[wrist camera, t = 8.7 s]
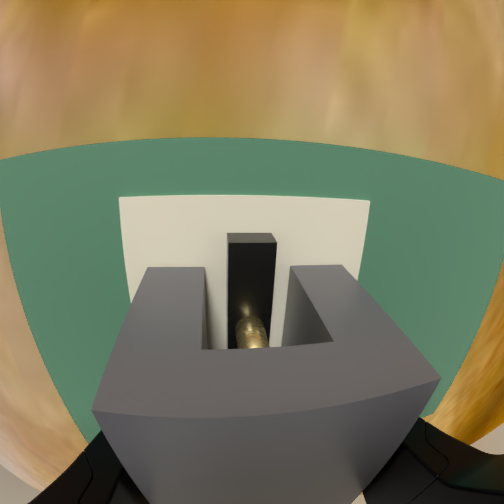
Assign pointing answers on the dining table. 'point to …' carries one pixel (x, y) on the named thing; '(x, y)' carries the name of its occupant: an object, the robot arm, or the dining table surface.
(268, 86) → the dining table surface
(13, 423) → the dining table surface
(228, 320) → the header pins
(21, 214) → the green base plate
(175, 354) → the block
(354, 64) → the dining table surface
